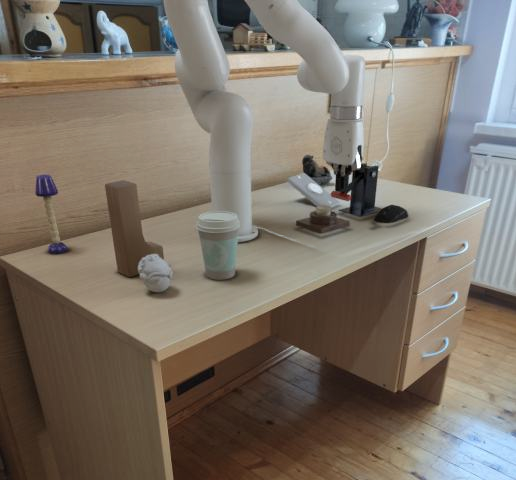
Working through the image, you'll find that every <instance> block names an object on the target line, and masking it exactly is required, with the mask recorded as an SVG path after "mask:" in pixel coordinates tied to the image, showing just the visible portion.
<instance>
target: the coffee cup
mask: <svg viewBox="0 0 516 480" xmlns="http://www.w3.org/2000/svg"><path fill="white" fill-rule="evenodd" d="M195 226H196V228H197V229H198V232H199V234H198V237H199V243H200V248H201V253H202V258H203V259H202V260H203V263H204V264H203V265H204V270H205V276H206V277H207V278H208V279H210V280H217V281H220V280H221V281H222V280H223V281H224V280H229V279H231V278H233V277H234V276H236V265H237V253H238V243H239V242H238V230H239V227H240V222H239V220H238V217H237V215H236V214H235V213H232V212H226V211H213V212H212V211H207V212H203V213H201V214H199V215H198V219H197V222H196V225H195Z"/></svg>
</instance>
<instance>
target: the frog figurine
mask: <svg viewBox="0 0 516 480" xmlns="http://www.w3.org/2000/svg"><path fill="white" fill-rule="evenodd" d="M138 272H139V274H138V275H139V279H140V280H142V284H143V285H144V286H145V288H147V289H148V290H149V291H151V292H152V293H162V292H164V291H166V290H167V289H168V288H169V286H170V284H171V281H172V280H173V274H174V272H173V271H172V268H171V267H170V265H169V263H168V262H167V261H166V260H165V259H164V260H163V259H162V258H160V257H159V255H158V254H151V255H147V256H145V257H143V258H142V260H140V262H139V265H138Z"/></svg>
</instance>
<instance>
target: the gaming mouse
mask: <svg viewBox="0 0 516 480" xmlns="http://www.w3.org/2000/svg"><path fill="white" fill-rule="evenodd" d="M408 217H409V213H408V210H407V209H405V208H404V207H402V206H400V205H395V204H389V205H387V206H385V207H382V209H381V210H380V211H379V212H377V213H376V215H375V216H374V218H373V221H374V222H376V223H380V224H392V223H396V222H399V221H401V220H404V219H407V218H408Z"/></svg>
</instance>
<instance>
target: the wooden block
mask: <svg viewBox="0 0 516 480" xmlns="http://www.w3.org/2000/svg"><path fill="white" fill-rule="evenodd" d="M104 189H105V190H104V191H105V196H106V201H107V208H108V209H107V210H108V215H109V223H110V229H111V237H112V242H113V249H114V256H115V264H116V270H117V272H118V273H120V274H122V275H124V276H126V277H128V278H131V277H135V276H138V275H140V274H139V272H138V265H139V262H140V260H142V258H143V257H145V256H147V255H151V254H158V255H159V257H160V258H162V259H163V260H164V261H165V255H164V247H163V245H161V244H158V243H155V242H153V241H146V240H145V237H144V234H143V227H142V217H141V212H140V203H139V201H140V200H139V196H138V195H139V193H138V187H137V183H135V182H132V181H131V182H130V181H128V180H123V179H122V180H118V181H112V182H108V183H105V184H104Z"/></svg>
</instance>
